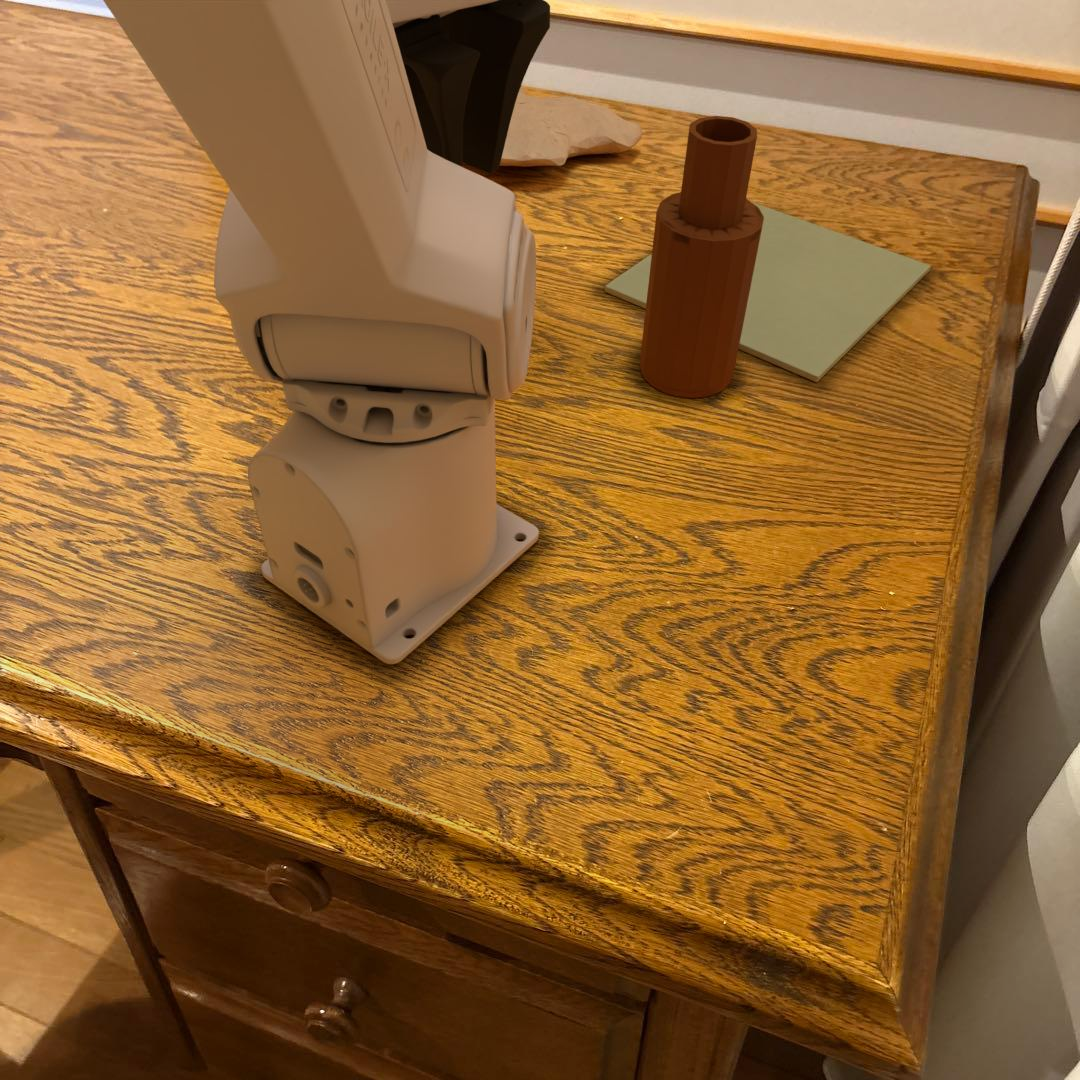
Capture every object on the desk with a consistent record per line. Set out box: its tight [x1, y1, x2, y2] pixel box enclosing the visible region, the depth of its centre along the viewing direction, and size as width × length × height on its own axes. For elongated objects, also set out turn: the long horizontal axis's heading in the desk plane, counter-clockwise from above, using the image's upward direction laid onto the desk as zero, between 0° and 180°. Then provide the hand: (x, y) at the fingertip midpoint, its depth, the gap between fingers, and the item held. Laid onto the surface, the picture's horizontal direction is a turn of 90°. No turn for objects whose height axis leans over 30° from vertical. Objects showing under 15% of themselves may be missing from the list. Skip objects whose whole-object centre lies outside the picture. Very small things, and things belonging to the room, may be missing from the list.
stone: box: [499, 84, 644, 168], centre depth 71 cm, size 14×4×15 cm
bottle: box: [639, 115, 764, 399], centre depth 49 cm, size 5×5×13 cm
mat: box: [604, 200, 932, 383], centre depth 60 cm, size 15×14×1 cm
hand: (458, 176), depth 46 cm, fingers closed
